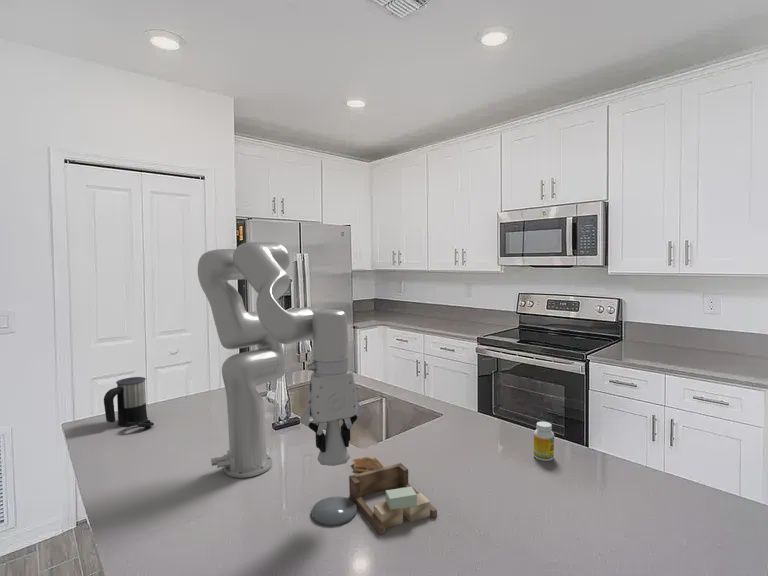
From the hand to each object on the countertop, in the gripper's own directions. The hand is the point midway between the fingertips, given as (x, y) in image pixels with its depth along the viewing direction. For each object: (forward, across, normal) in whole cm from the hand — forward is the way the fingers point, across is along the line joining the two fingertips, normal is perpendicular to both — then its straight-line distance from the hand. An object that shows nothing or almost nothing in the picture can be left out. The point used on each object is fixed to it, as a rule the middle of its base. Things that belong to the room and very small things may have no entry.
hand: (333, 446), depth 99 cm
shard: (+16, +16, +15) cm, 28 cm away
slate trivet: (+15, 0, 0) cm, 15 cm away
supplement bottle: (+16, +61, -2) cm, 63 cm away
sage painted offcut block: (+12, +12, -9) cm, 19 cm away
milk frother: (+15, -42, +81) cm, 93 cm away
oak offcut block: (+16, +9, -8) cm, 20 cm away
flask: (+3, 0, 0) cm, 3 cm away
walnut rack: (+15, +12, -3) cm, 20 cm away
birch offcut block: (+16, +16, -9) cm, 24 cm away
